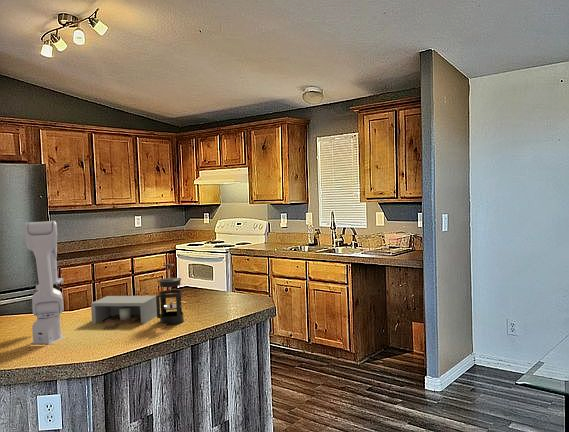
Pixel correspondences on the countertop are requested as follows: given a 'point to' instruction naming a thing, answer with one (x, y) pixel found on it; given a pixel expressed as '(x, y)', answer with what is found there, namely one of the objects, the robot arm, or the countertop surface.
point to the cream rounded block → (125, 313)
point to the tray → (119, 321)
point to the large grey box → (113, 303)
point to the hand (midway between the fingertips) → (51, 305)
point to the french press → (170, 316)
